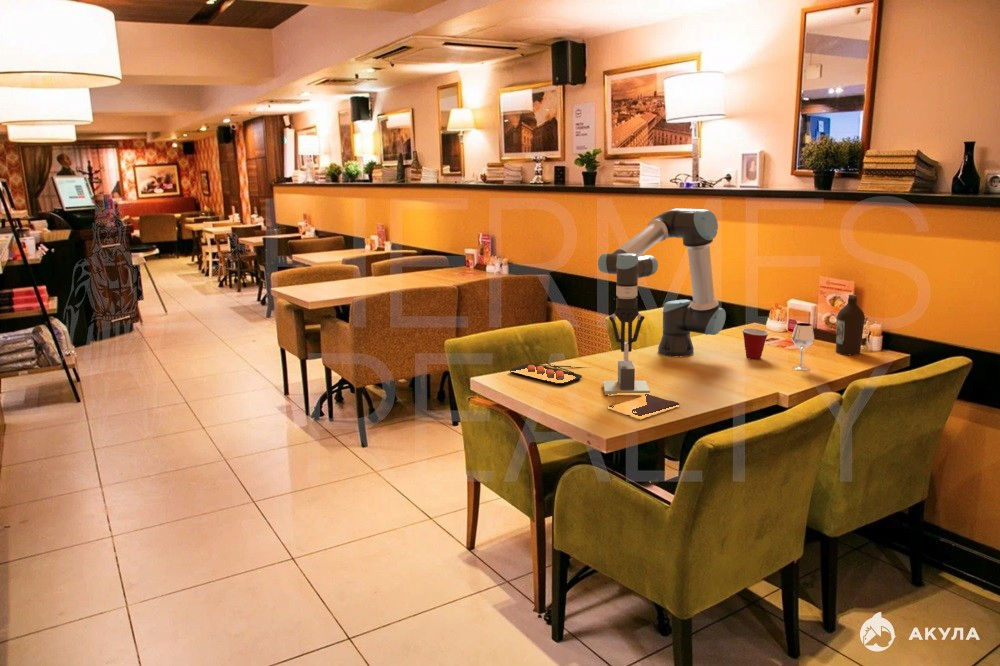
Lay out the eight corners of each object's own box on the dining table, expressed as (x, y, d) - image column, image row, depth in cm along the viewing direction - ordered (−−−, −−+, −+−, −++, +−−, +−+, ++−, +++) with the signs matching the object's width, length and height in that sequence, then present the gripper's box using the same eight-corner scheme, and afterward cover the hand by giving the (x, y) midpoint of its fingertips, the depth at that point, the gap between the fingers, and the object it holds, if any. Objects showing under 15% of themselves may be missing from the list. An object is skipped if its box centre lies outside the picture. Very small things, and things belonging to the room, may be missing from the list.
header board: (602, 386, 271) (603, 372, 270) (645, 385, 270) (645, 371, 269) (605, 396, 260) (605, 381, 258) (649, 395, 258) (650, 381, 257)
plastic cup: (771, 361, 297) (773, 333, 294) (745, 361, 297) (746, 333, 294) (762, 354, 307) (764, 327, 305) (737, 354, 308) (738, 327, 305)
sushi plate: (506, 374, 291) (506, 365, 290) (554, 359, 312) (554, 350, 311) (561, 389, 271) (561, 379, 270) (609, 371, 292) (609, 362, 291)
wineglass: (805, 372, 280) (808, 327, 276) (785, 368, 286) (788, 324, 282) (815, 368, 285) (819, 324, 281) (796, 364, 291) (799, 321, 287)
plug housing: (617, 381, 270) (618, 360, 268) (631, 381, 270) (631, 360, 268) (620, 390, 260) (620, 369, 258) (634, 390, 259) (634, 368, 257)
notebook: (607, 410, 247) (607, 404, 246) (646, 397, 258) (646, 392, 258) (640, 421, 235) (640, 416, 234) (679, 408, 246) (679, 402, 246)
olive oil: (855, 349, 311) (860, 292, 305) (866, 355, 300) (871, 297, 295) (830, 349, 311) (834, 293, 305) (840, 356, 301) (845, 297, 295)
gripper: (609, 299, 253) (608, 363, 259) (646, 298, 252) (645, 362, 258) (607, 295, 261) (607, 357, 266) (643, 294, 260) (642, 357, 265)
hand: (625, 360), depth 262 cm, fingers closed
